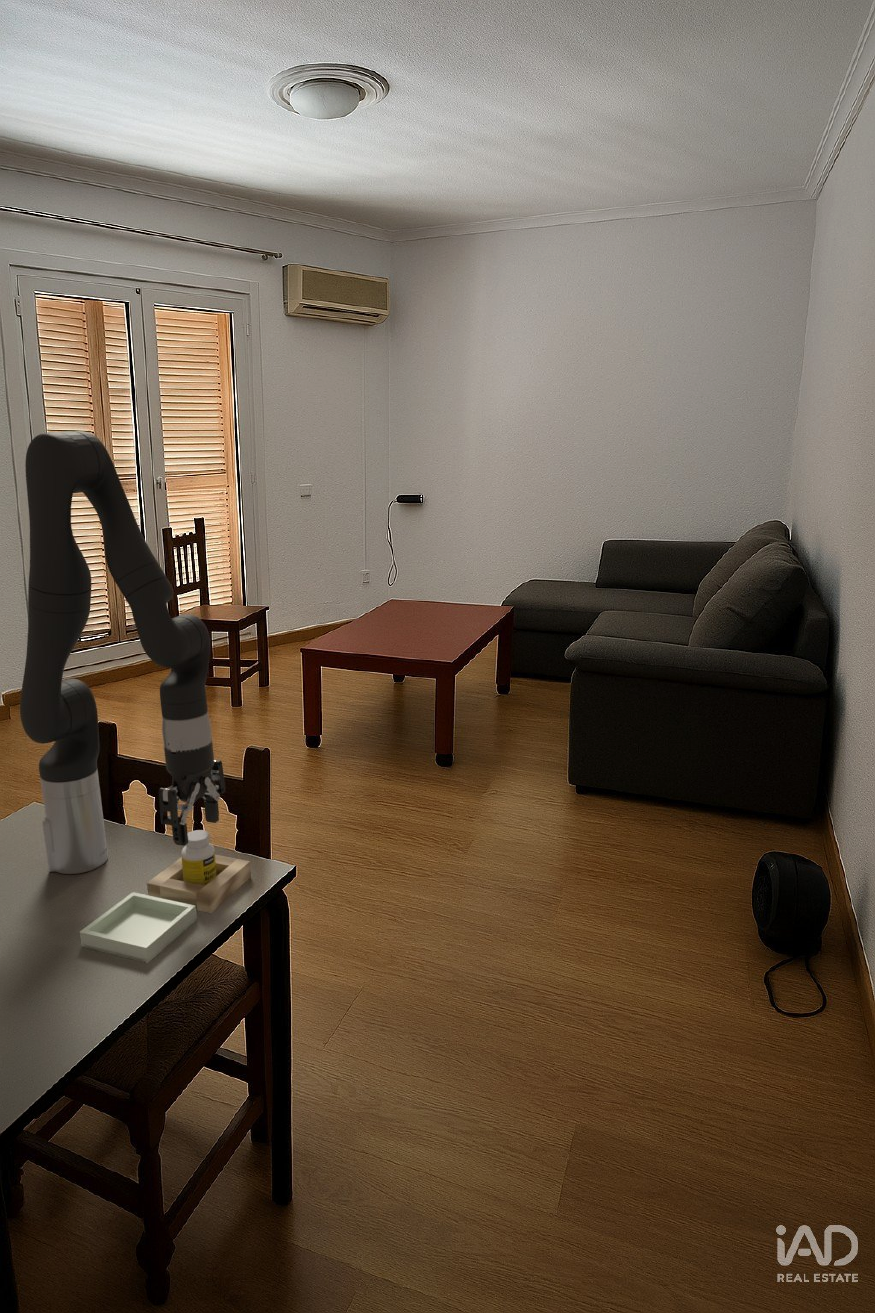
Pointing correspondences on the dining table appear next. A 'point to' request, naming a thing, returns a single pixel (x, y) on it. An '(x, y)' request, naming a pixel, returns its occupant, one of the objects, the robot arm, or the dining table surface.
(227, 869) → the holder block
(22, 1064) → the dining table surface
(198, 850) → the supplement bottle
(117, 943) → the tray
